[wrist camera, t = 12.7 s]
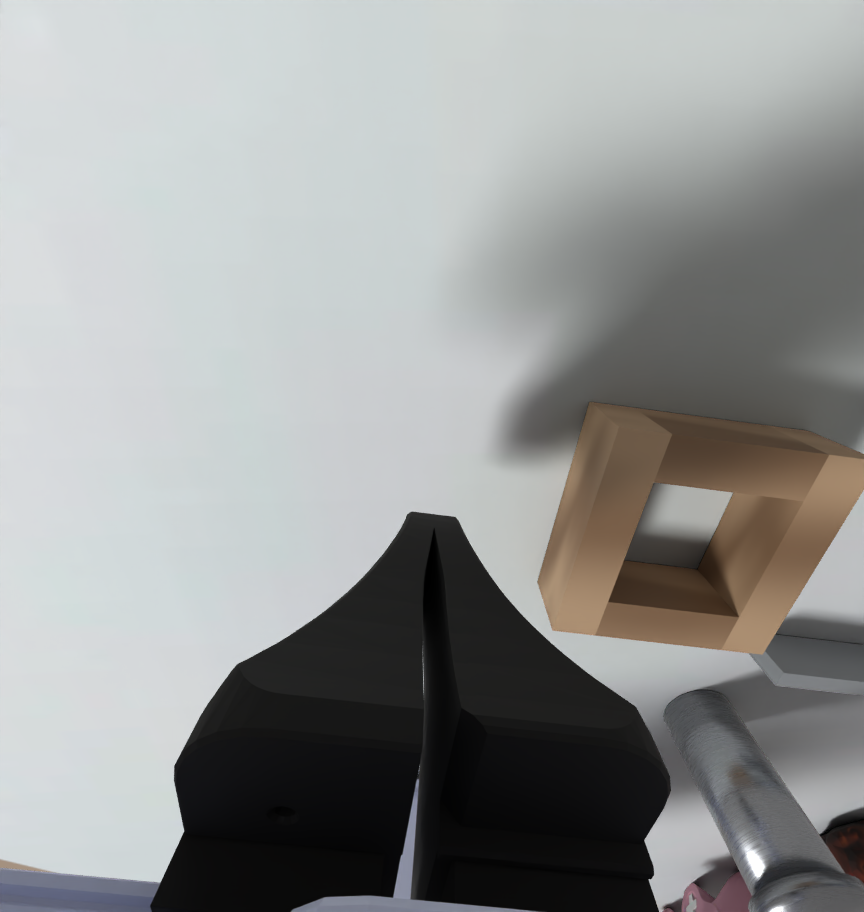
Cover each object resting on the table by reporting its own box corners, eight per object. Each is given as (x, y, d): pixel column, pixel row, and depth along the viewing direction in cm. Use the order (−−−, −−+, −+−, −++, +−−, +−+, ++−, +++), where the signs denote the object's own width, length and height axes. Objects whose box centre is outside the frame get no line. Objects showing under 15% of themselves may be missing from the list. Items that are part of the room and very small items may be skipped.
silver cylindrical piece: (716, 741, 20) (843, 957, 14) (645, 732, 20) (740, 945, 14) (751, 691, 19) (910, 905, 12) (674, 680, 19) (796, 891, 12)
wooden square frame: (719, 603, 17) (762, 654, 15) (537, 581, 17) (552, 630, 14) (809, 430, 14) (881, 461, 12) (589, 401, 14) (619, 427, 11)
